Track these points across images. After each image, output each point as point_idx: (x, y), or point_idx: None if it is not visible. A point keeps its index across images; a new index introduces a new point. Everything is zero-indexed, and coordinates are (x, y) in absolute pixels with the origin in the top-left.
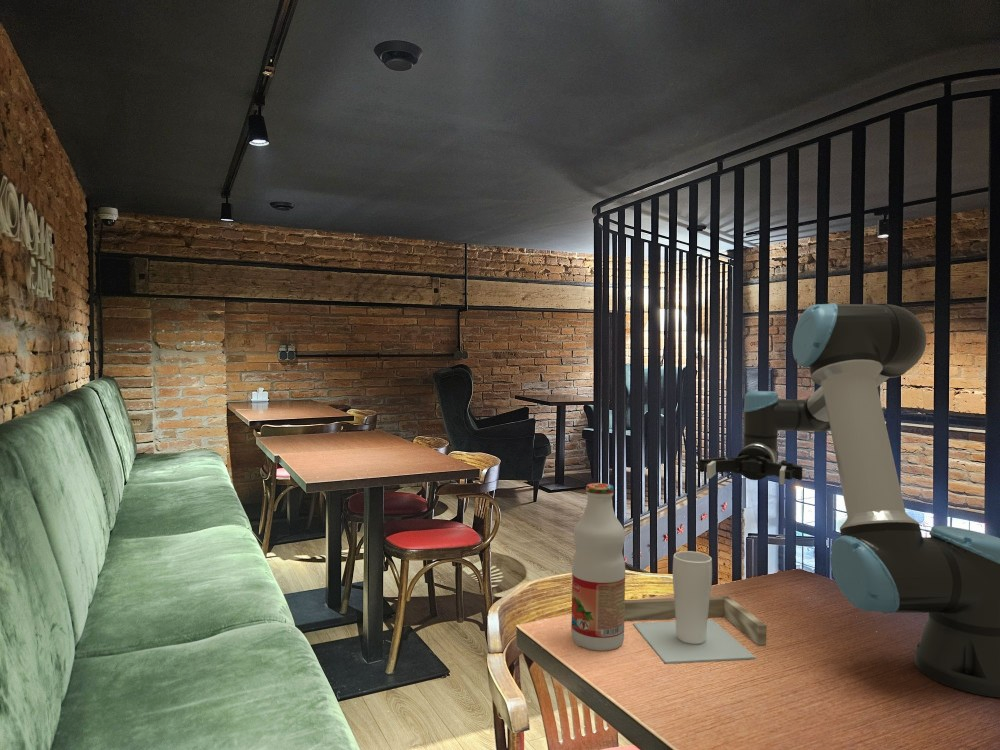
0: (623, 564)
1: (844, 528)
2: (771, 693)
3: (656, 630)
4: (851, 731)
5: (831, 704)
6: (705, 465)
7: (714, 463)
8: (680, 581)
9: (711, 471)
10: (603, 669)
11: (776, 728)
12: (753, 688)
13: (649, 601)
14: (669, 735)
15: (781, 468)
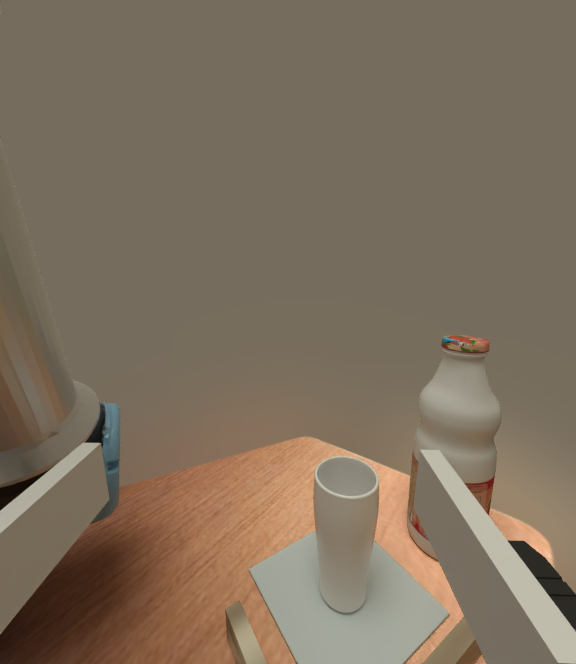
0: (417, 441)
1: (100, 412)
2: (239, 502)
3: (401, 599)
4: (187, 476)
5: (187, 505)
6: (525, 547)
7: (495, 576)
8: (353, 486)
9: (426, 500)
10: (389, 484)
11: (242, 463)
12: (255, 504)
13: (452, 635)
14: (307, 438)
15: (39, 494)
